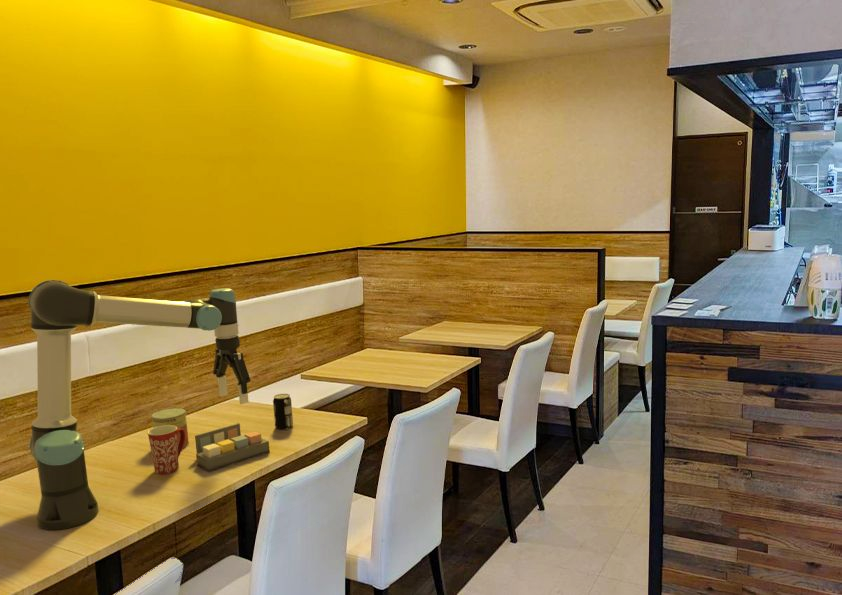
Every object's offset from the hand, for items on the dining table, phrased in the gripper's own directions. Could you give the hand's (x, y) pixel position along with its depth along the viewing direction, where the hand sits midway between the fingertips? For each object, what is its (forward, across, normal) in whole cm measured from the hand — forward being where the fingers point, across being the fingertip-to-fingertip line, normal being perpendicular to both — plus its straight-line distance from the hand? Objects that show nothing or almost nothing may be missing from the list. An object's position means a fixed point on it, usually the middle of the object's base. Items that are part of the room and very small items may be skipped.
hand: (233, 399), depth 234 cm
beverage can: (+20, +14, -26) cm, 36 cm away
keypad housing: (+20, -1, +2) cm, 20 cm away
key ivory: (+16, -1, +10) cm, 19 cm away
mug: (+20, +8, +20) cm, 29 cm away
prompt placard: (+20, +9, +2) cm, 22 cm away
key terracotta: (+17, -1, -5) cm, 17 cm away
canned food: (+20, +28, +11) cm, 36 cm away
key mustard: (+17, -1, +5) cm, 17 cm away
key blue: (+17, -1, 0) cm, 17 cm away
